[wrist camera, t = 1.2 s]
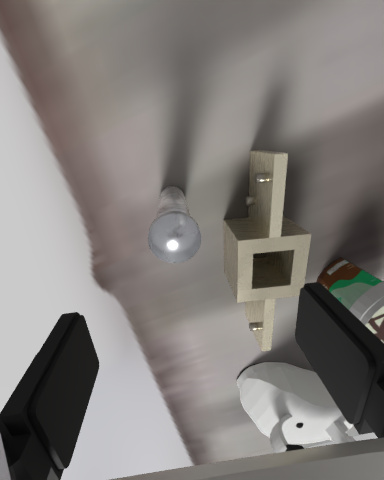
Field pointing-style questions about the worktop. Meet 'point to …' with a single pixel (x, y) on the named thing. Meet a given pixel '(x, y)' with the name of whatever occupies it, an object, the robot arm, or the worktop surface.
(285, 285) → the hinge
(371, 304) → the food container
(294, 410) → the iron
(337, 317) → the robot arm
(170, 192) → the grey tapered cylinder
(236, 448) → the worktop surface
